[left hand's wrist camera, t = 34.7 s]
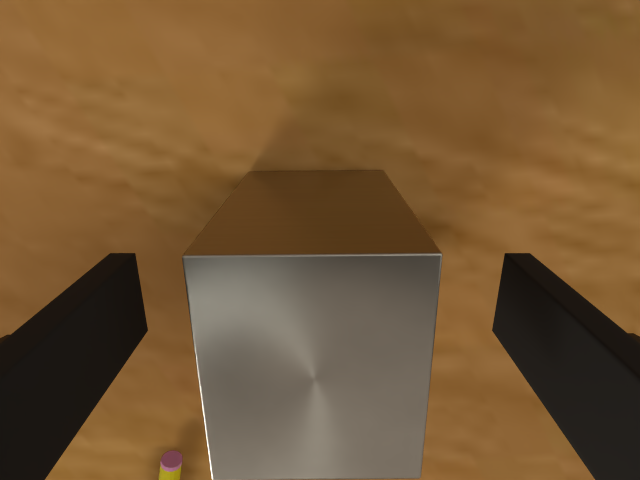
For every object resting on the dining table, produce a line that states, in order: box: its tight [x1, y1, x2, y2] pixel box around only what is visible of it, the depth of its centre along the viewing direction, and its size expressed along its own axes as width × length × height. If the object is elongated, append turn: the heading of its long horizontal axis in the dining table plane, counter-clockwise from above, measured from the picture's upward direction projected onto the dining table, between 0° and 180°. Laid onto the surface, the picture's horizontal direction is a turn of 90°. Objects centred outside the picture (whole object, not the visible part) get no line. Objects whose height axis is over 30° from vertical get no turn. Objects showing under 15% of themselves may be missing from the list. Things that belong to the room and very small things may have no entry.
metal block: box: [182, 170, 442, 480], centre depth 13 cm, size 5×6×8 cm
